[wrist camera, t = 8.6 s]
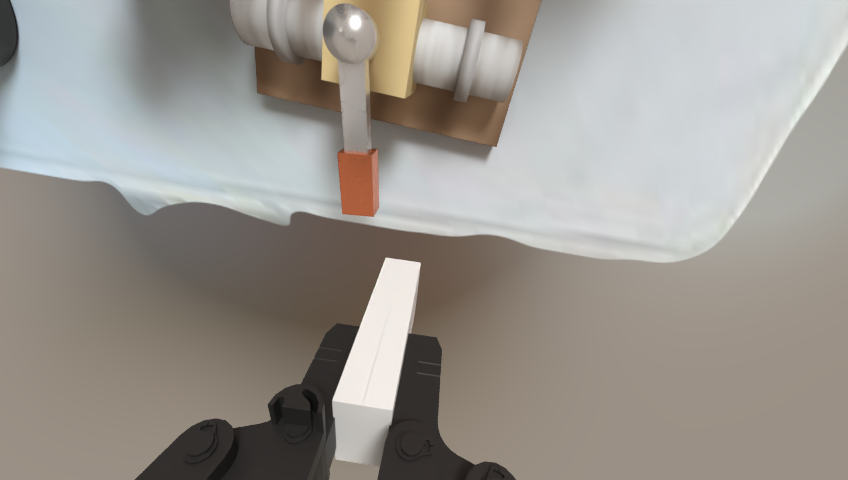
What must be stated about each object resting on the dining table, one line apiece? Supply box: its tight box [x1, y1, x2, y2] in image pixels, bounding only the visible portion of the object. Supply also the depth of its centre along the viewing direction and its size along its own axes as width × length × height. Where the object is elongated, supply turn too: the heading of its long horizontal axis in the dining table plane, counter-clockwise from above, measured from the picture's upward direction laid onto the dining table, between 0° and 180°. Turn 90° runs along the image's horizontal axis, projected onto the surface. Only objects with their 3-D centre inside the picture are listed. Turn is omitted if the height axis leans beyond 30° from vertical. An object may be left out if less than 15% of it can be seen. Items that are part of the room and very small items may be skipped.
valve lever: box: [323, 3, 380, 217], centre depth 24 cm, size 14×3×2 cm, turn 177°
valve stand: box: [230, 0, 541, 147], centre depth 27 cm, size 26×14×12 cm, turn 79°
